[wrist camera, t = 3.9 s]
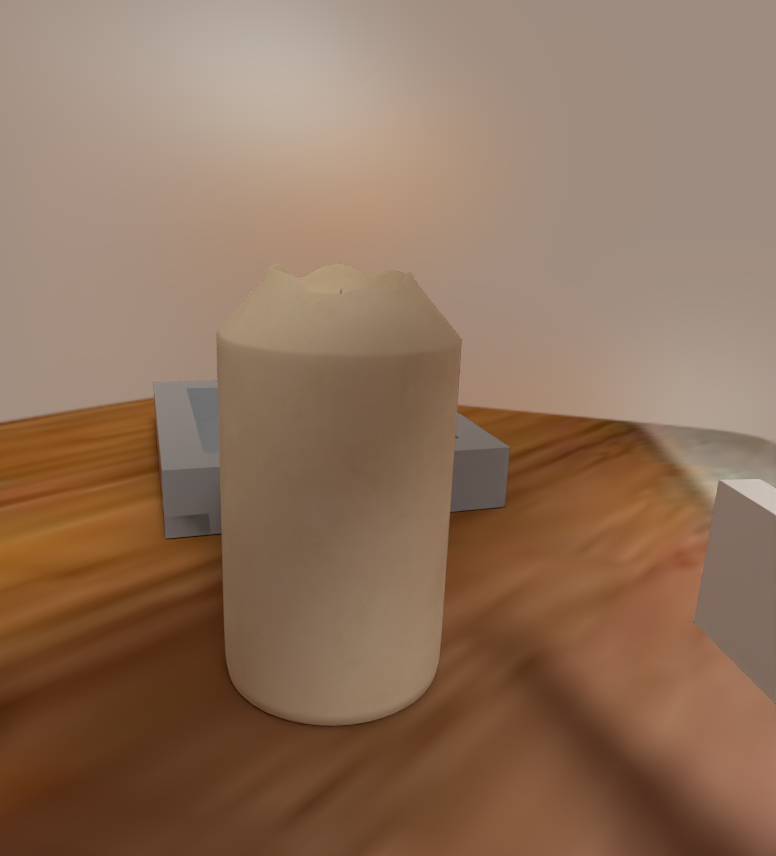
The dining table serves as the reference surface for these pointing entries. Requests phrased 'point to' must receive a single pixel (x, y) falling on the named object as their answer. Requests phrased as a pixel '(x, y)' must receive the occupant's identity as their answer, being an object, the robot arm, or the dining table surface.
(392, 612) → the candle
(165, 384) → the charcoal dish
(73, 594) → the dining table surface
